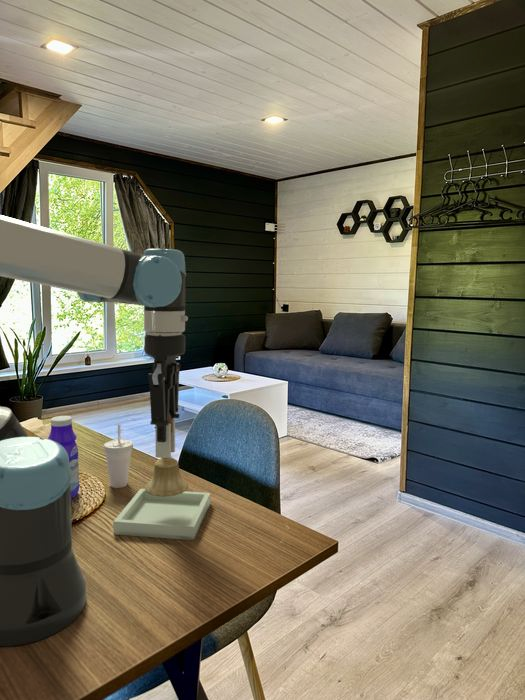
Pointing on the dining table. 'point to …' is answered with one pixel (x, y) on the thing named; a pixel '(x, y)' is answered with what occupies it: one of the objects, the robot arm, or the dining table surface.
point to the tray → (163, 515)
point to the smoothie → (118, 460)
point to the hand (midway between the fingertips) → (165, 454)
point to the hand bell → (166, 477)
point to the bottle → (67, 446)
